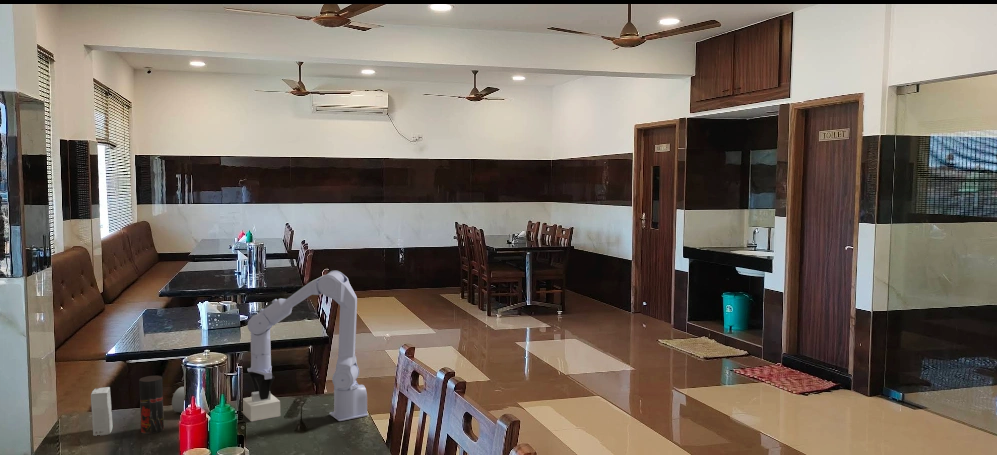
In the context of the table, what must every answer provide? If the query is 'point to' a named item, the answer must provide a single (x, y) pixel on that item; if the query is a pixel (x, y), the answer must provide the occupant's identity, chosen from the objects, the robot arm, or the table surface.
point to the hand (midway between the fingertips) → (261, 396)
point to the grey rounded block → (178, 400)
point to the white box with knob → (261, 407)
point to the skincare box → (101, 411)
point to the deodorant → (151, 404)
